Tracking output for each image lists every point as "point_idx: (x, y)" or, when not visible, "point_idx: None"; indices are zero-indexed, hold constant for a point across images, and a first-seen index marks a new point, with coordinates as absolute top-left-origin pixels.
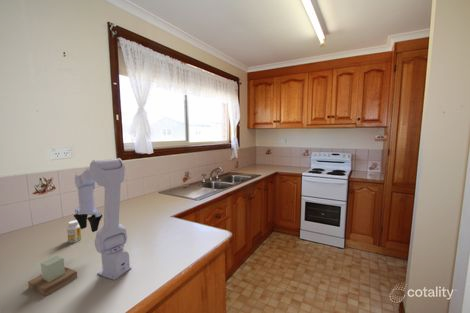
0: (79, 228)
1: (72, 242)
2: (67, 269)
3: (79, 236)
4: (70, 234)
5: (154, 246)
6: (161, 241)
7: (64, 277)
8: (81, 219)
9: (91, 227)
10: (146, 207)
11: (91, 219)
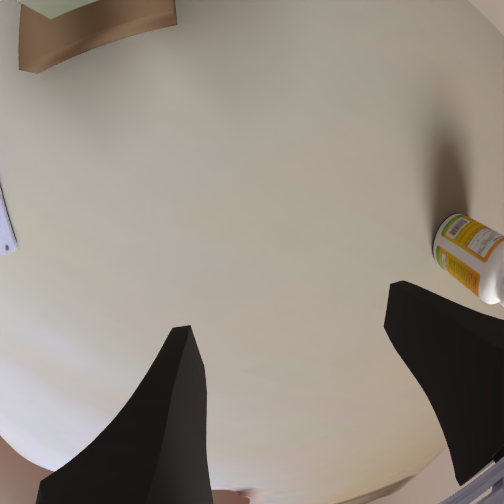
0: (475, 289)
1: (444, 221)
2: (76, 31)
3: (445, 262)
4: (479, 235)
5: (56, 392)
6: (79, 418)
7: (25, 17)
8: (466, 371)
9: (166, 368)
10: (383, 461)
11: (38, 498)
